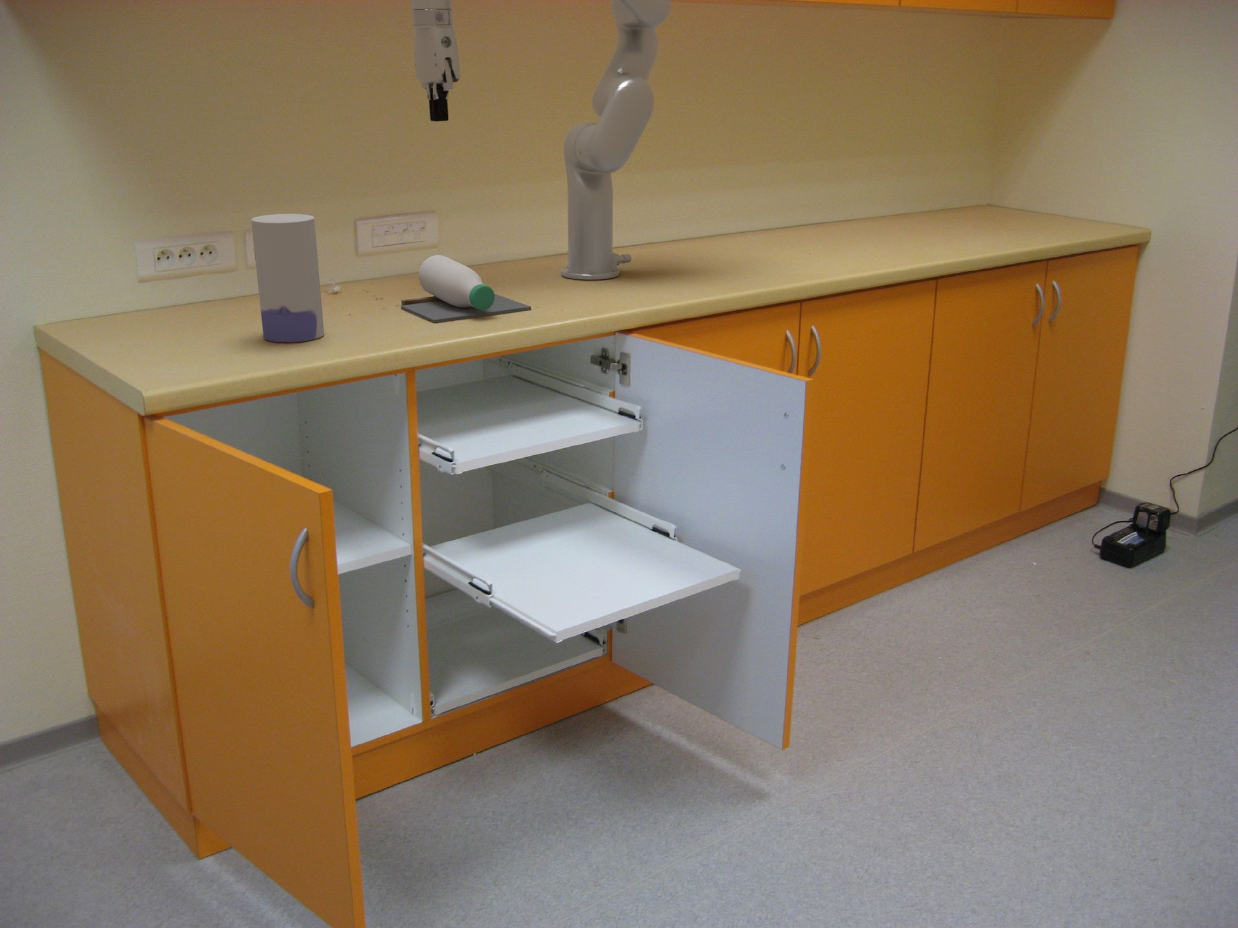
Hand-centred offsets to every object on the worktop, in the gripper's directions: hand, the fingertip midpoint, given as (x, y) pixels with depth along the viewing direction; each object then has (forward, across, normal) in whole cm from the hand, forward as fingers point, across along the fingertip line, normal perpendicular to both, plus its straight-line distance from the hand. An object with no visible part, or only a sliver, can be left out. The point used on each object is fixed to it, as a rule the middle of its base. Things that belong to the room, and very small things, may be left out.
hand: (439, 120), depth 225 cm
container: (+32, -22, +42) cm, 57 cm away
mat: (+33, -21, +8) cm, 40 cm away
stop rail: (+32, -12, +8) cm, 36 cm away
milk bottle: (+28, -10, +8) cm, 30 cm away
